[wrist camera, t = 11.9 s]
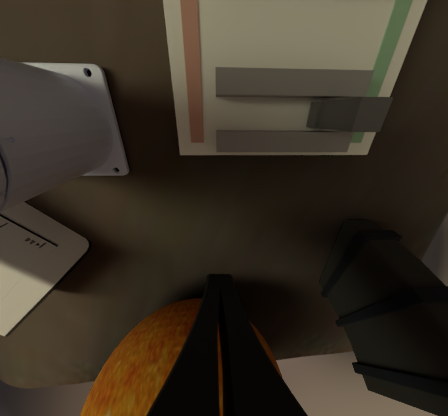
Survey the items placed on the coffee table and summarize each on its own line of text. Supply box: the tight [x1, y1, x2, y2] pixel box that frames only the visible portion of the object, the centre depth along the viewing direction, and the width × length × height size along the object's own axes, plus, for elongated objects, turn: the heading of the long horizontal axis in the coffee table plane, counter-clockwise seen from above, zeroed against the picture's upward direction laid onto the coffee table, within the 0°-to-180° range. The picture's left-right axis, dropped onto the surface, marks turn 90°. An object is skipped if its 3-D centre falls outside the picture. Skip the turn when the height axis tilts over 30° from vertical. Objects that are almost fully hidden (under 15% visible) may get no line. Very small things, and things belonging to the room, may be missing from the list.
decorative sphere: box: [80, 298, 282, 416], centre depth 18 cm, size 20×20×20 cm
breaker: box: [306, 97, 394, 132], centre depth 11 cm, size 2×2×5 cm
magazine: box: [319, 220, 448, 416], centre depth 18 cm, size 4×13×15 cm, turn 179°
